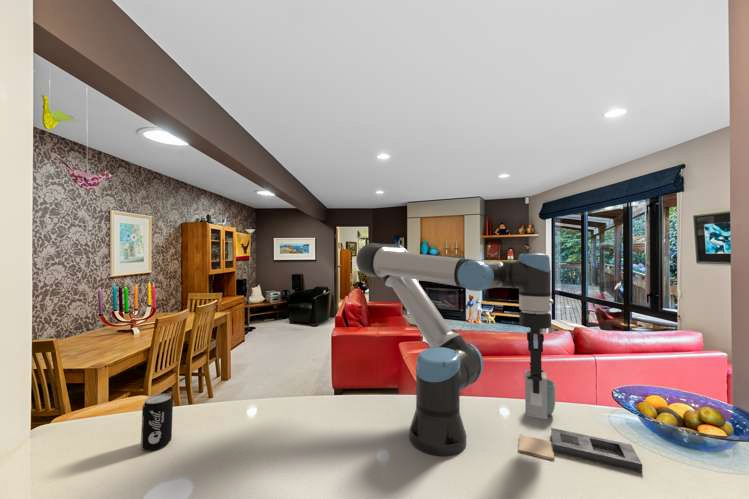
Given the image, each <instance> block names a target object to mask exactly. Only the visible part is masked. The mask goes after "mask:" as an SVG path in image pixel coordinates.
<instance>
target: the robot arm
mask: <svg viewBox="0 0 749 499" xmlns="http://www.w3.org/2000/svg"><path fill="white" fill-rule="evenodd" d="M355 260H356V261H355V262H356V266H357V268H358V270H359V271H360V272H361V273H362V274H363V275H364V276H367V277H372V278H374V277H376V278H378V277H379V278H380V279H381V280H382V281H383V283H384V284H385V286H386V287H388V288H392V289H393V291H394V292H395V294H396V295H397V297H398V299H399V300H400V302H401V303H402V305H403V306H404V308H405V310H406V311H407V313H408V314H409V316H410V317H411V319H412V320H413V322H414V323H415V325H416V326H417V328H418V330H419V331H420V333H421V334H422V336H423V338H424V340H426V343H427V344H428V345H429V348H426V349H424V350H422V351H421V352H420V353H418V354H417V358H416V365H415V372H416V373H415V376H416V377H415V378H416V382H415V384H416V386H415V390H416V391H415V395H416V396H415V398H416V399H415V401H416V402H415V403H416V405H415V406H416V407H415V412H414V415H413V418H412V420H411V423H410V426H409V440H410V443H411V444H412V445H413V447H415V448H416V449H418V450H419V451H421V452H424V453H426V454H430V455H434V456H439V457H440V456H443V457H446V456H455V455H458V454H460V453H461V452H463V451H464V450H465V449H466V448H467V433H466V430H465V426H464V423H463V419H462V417H461V416H462V415H461V412H460V409H461V408H460V403H461V402H460V401H461V400H460V399H461V397H460V395H461V394H460V393H461V392H462V391H463V390H464V389H466V388H468V387H469V386H470V385H472V384H474V383H476V382H477V381H478V379H479V378H480V377H481V375H482V373H483V371H484V359H483V356H482V353H481V352H480V351H479V349H478V348H477V347H476V346H475V345H473V344H471V343H469V342H467V341H466V340H465V339H464V338H463V336H462V335H461V333H457V332H454V331H453V330H452V329H451V327H450V326H449V325H448V323H447V322H446V320H445V319H444V318H443V316H442V314H441V313H440V311H439V310H438V309H437V307H436V306H435V304H434V303H433V301H431V299H430V297H429V296H428V294H427V293H426V291H425V290H424V289H423V287H422V286H421V284H420V283H419V281H423V282H431V283H437V284H442V285H450V286H454V287H461V288H464V289H466V290H468V291H473V292H475V291H476V292H481V291H485V290H487V289H488V290H489V289H495V288H506V289H507V288H508V289H509V288H511V289H518V293H519V294H518V296H519V297H518V307H519V310H521V311H520V312H519V325H520V326H522V327H524V328H529V329H530V330H529V331H527V332H526V340H527V343H528V344H527V350H528V351H529V352H530V356H529V358H530V361H529V362H530V363H529V365H530V367H529V370H530V371H531V375H530V377H529V376H527V379H530V405H536V406H541V407H542V372H543V373H545V372H544V368H543V367H542V353H543V352H544V341H545V335H544V333H541V330H545V329H546V330H547V329H550V328H551V327H552V314H551V313H550V312H551V311H552V310H551V309H552V307H551V306H552V304H554V300H553V299H551V288H552V287H551V284H552V282H551V281H552V280H551V279H552V277H551V276H552V275H551V272H552V270H551V263H550V256H549V255H548V254H547V253H520V254H519V255H518V259H517V260H486V259H485V260H481V259H480V260H479V259H471V258H470V259H469V258H462V257H460V258H459V257H451V256H443V255H442V256H441V255H432V254H431V255H430V254H424V253H423V254H422V253H414V252H413V253H411V252H410V251H408V249H406V248H405V247H404V246H401V245H399V244H396V243H395V244H394V243H389V244H387V243H376V242H371V243H366V244H364V245H363V246H362V247H360V248H359V250H358V252H357V254H356V257H355ZM418 280H419V281H418Z"/></svg>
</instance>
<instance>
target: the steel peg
mask: <svg viewBox="0 0 749 499" xmlns="http://www.w3.org/2000/svg"><path fill="white" fill-rule="evenodd" d="M524 373H525V374H524V389H525V391H524V393H525V394H524V397H525V398H524V400H525V404H524V405H525V416H528V417H534V418H538V419H539V418H540V419H544V420H548V415H547V379H548V377H547V372H542V407H541V406H536V405H530V379H527V376H529V377H530V375H531V370H527V369H526V370H524Z"/></svg>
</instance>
